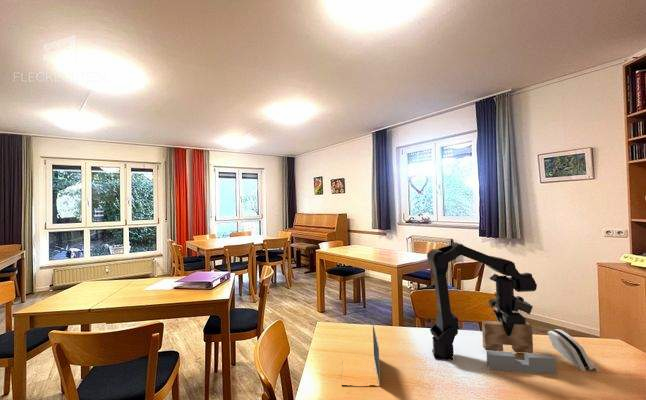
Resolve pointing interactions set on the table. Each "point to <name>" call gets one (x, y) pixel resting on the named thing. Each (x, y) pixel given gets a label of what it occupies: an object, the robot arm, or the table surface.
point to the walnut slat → (507, 337)
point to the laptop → (376, 354)
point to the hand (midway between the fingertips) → (506, 333)
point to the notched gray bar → (521, 362)
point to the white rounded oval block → (570, 349)
